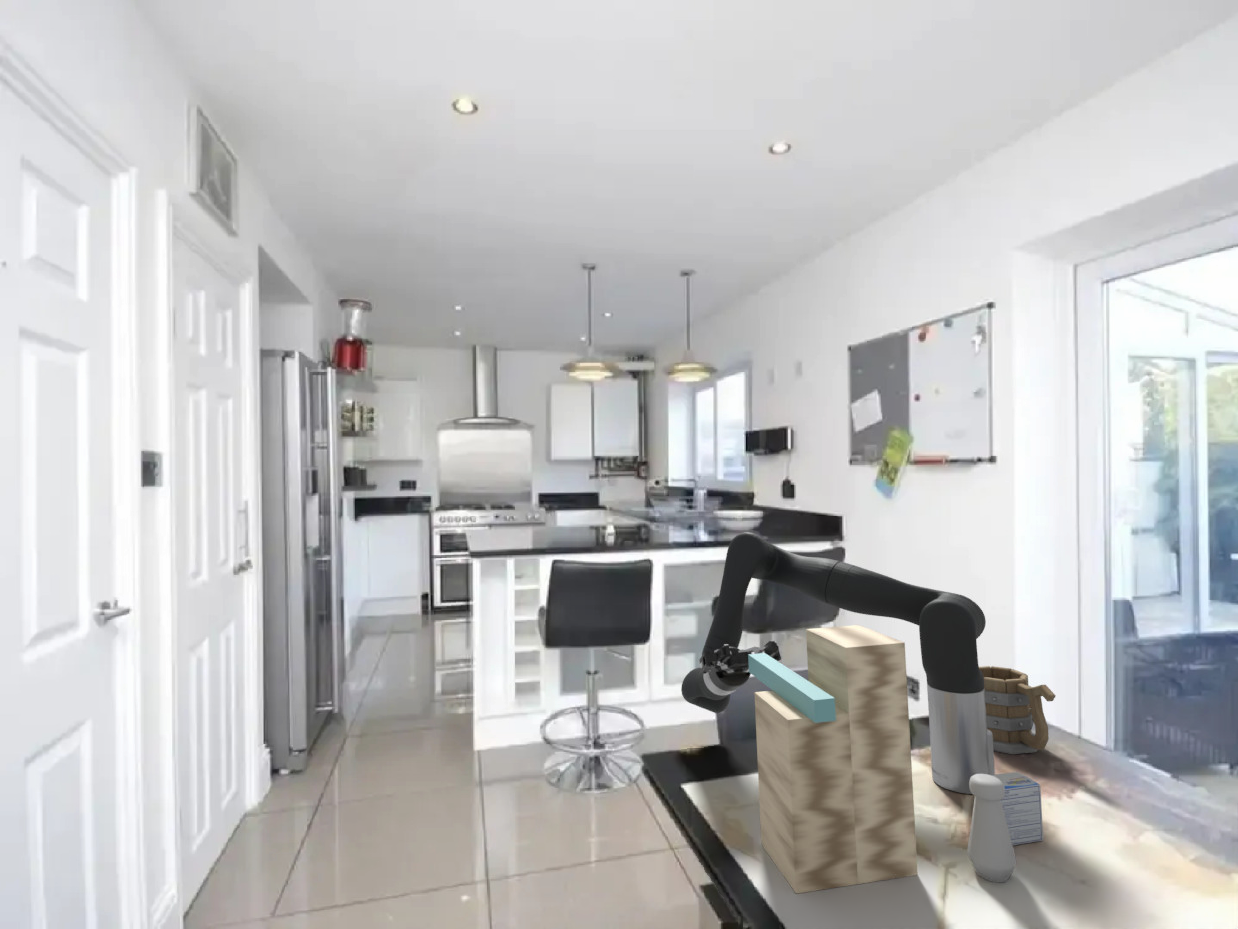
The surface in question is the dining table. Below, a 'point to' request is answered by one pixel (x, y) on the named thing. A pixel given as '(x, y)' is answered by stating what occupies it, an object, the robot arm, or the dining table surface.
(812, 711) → the teal bar
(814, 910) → the dining table surface
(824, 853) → the block
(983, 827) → the salt shaker
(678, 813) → the dining table surface
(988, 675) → the tankard
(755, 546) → the robot arm
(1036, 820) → the medicine box
